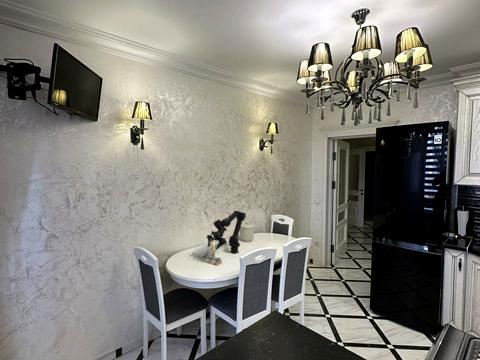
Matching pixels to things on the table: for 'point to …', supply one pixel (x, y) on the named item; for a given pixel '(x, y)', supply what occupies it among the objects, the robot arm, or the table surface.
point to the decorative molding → (201, 250)
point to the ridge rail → (212, 260)
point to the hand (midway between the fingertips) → (211, 248)
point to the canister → (247, 231)
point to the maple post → (212, 248)
